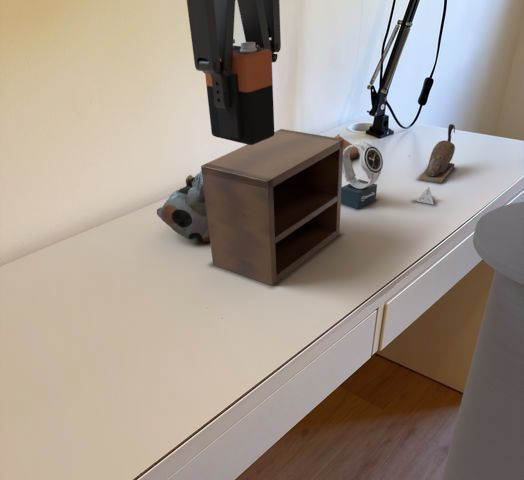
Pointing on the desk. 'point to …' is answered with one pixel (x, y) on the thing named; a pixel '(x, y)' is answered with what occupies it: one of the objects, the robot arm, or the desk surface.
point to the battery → (249, 94)
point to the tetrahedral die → (426, 197)
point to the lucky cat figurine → (187, 210)
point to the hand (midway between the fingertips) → (245, 129)
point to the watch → (359, 190)
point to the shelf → (273, 203)
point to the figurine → (440, 160)
